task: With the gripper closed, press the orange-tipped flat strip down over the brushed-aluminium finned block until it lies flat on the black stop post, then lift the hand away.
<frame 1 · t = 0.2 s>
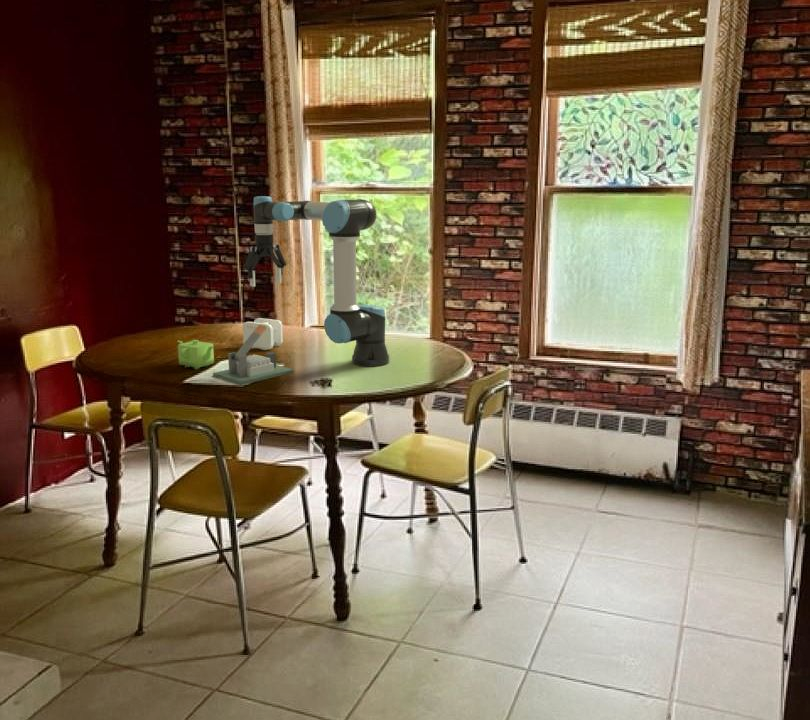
hand: (266, 284, 333), 28 cm above the table, fingers open, 13 cm apart
heatsink board: (253, 374, 299), on the table
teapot: (196, 367, 310), on the table
orange-tipped flat strip: (249, 342, 295), point 12 cm above the table, hinge at 40.0°
cable organizer: (263, 347, 343), on the table
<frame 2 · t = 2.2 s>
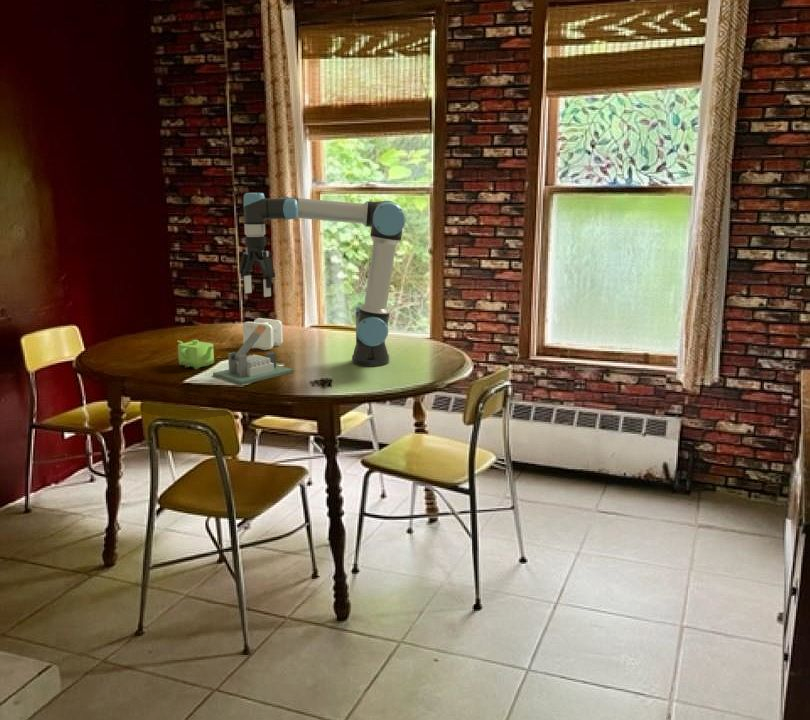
hand: (257, 294, 294), 30 cm above the table, fingers open, 11 cm apart
nothing on the table moved.
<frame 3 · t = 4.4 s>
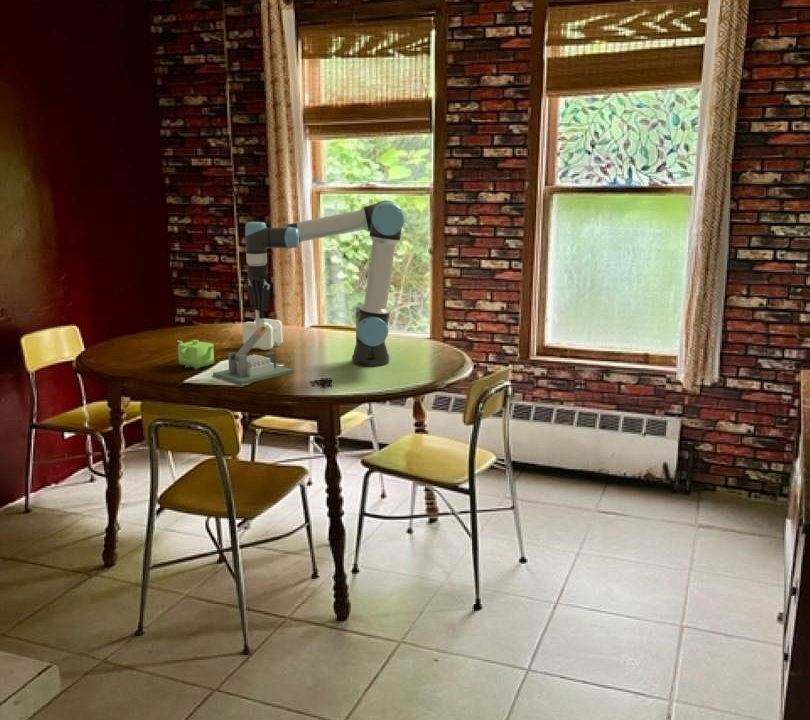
hand: (260, 326, 297), 18 cm above the table, fingers closed
orange-tipped flat strip: (250, 343, 295), point 12 cm above the table, hinge at 37.2°, touching gripper
everything else where it was.
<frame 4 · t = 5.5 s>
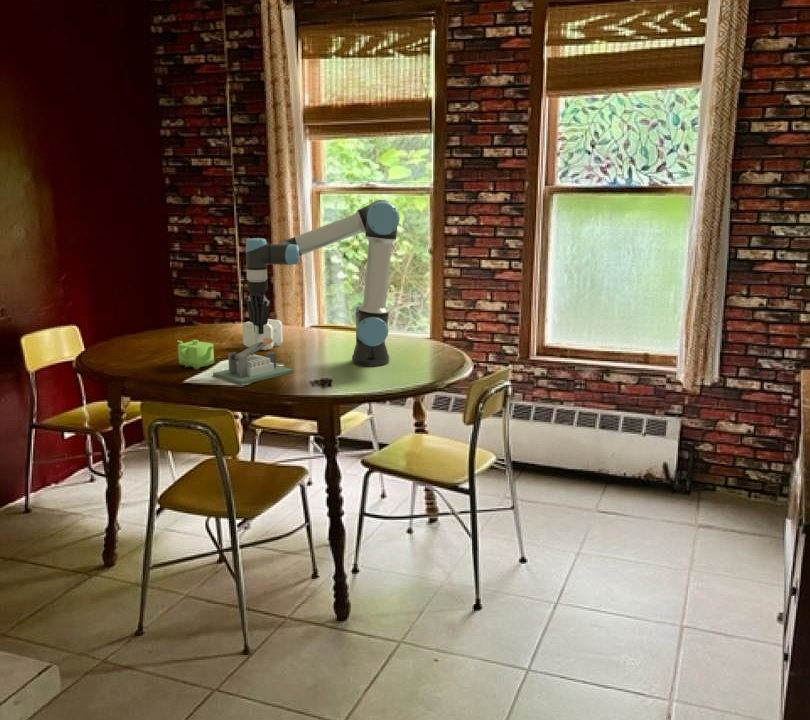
hand: (259, 341, 299), 12 cm above the table, fingers closed
orange-tipped flat strip: (253, 349, 297), point 10 cm above the table, hinge at 16.9°, touching gripper
everything else where it was.
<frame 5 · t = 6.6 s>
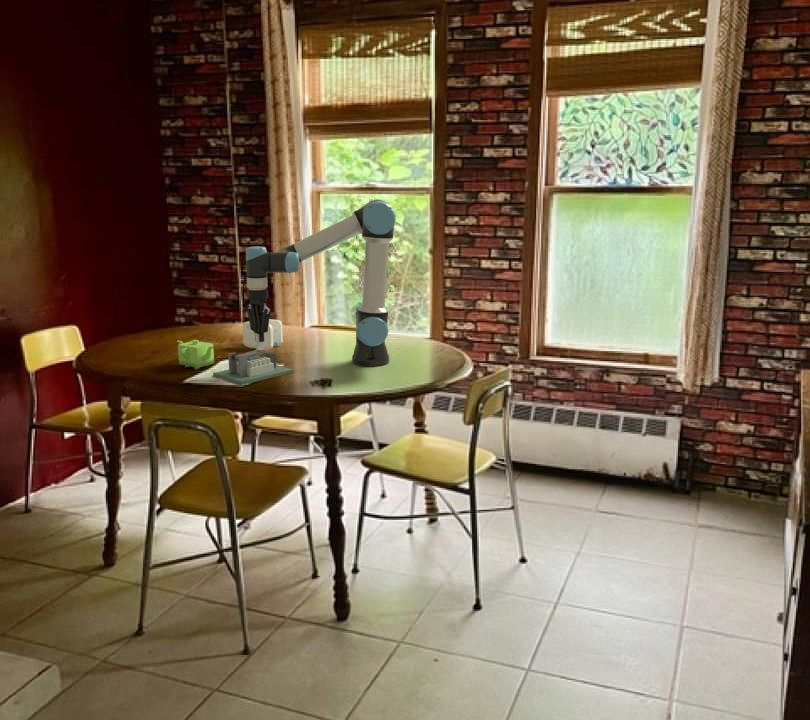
hand: (260, 349, 300), 9 cm above the table, fingers closed
orange-tipped flat strip: (253, 353, 297), point 8 cm above the table, hinge at 3.3°, touching gripper
everything else where it was.
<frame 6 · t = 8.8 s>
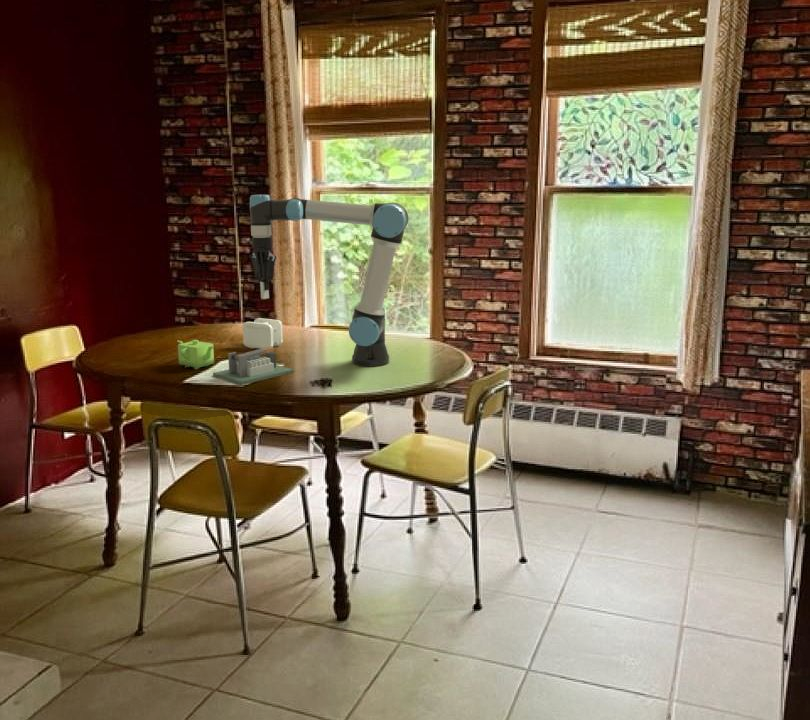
hand: (265, 298, 302), 28 cm above the table, fingers closed
orange-tipped flat strip: (253, 353, 297), point 8 cm above the table, hinge at 3.2°
everything else where it was.
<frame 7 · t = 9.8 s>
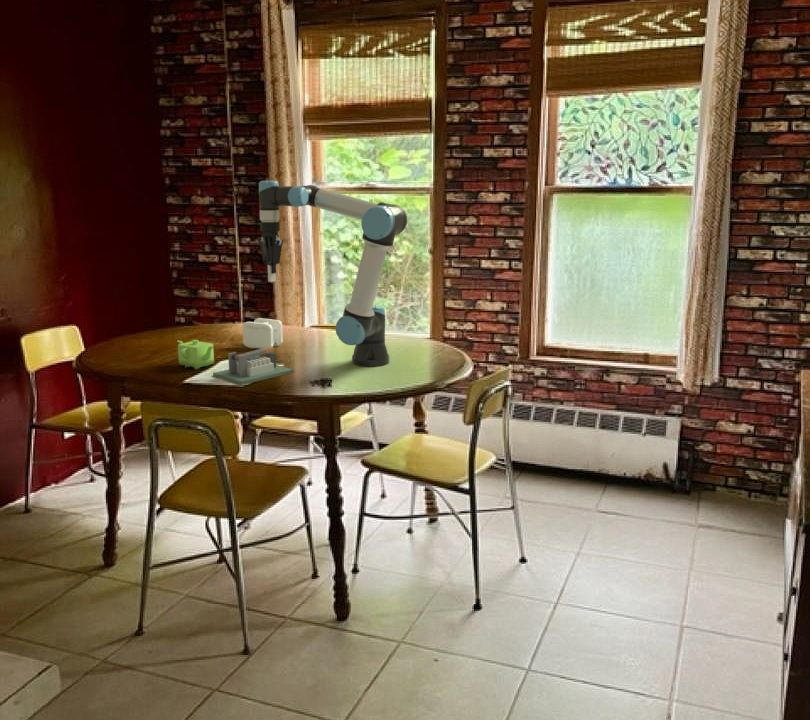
hand: (272, 281, 312), 32 cm above the table, fingers closed
nothing on the table moved.
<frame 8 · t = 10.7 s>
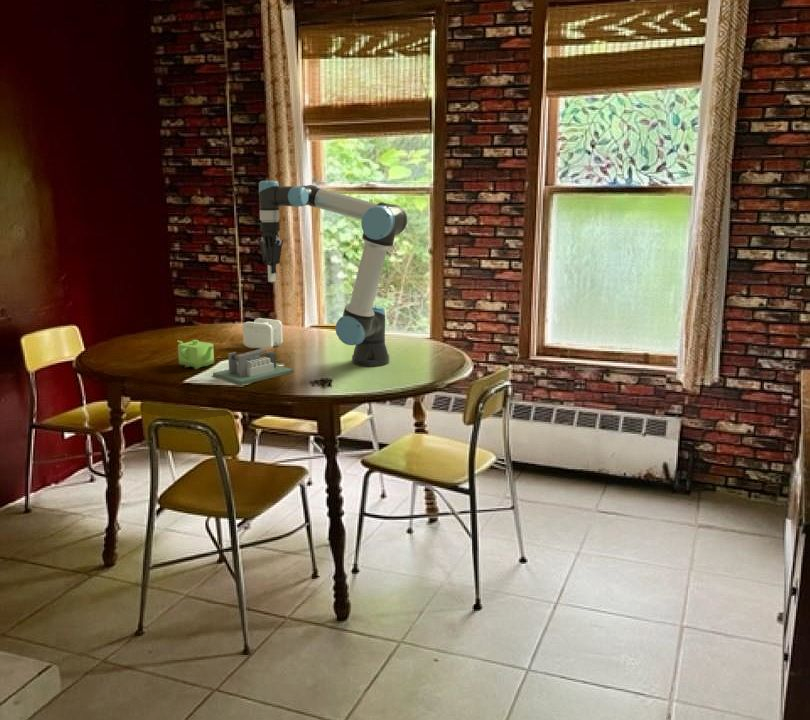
hand: (272, 281, 312), 32 cm above the table, fingers closed
nothing on the table moved.
at the end: orange-tipped flat strip at +3° (first picture: +40°) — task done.
